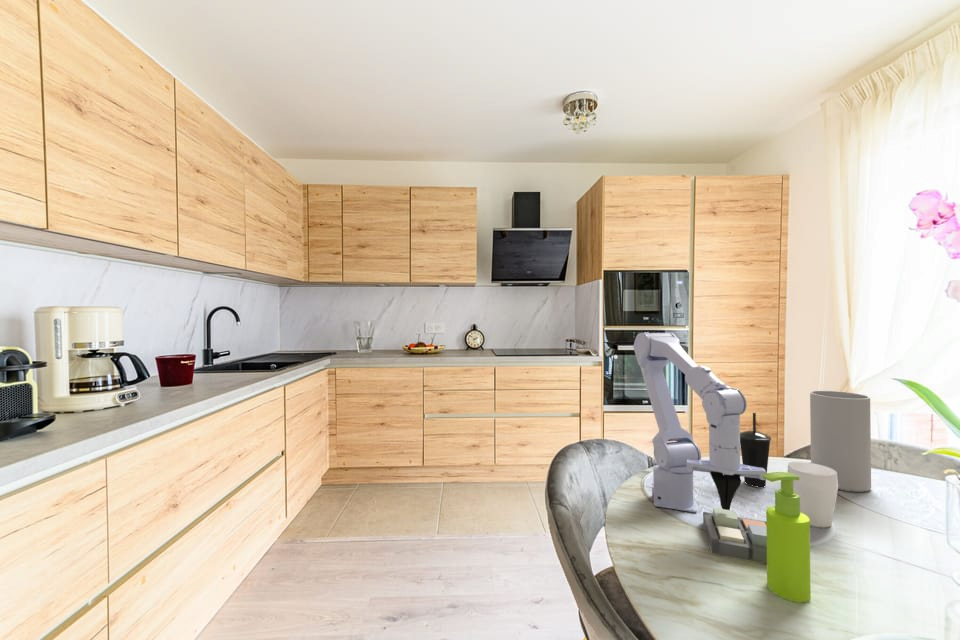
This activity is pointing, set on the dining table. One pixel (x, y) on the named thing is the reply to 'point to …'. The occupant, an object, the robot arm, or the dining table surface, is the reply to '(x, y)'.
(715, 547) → the grey divided tray
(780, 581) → the soap dispenser
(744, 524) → the terracotta key
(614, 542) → the dining table surface
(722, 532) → the ivory key
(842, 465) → the cylinder vase
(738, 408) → the robot arm
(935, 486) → the dining table surface
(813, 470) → the cup
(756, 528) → the slate key
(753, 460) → the drinking cup
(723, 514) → the sage key
